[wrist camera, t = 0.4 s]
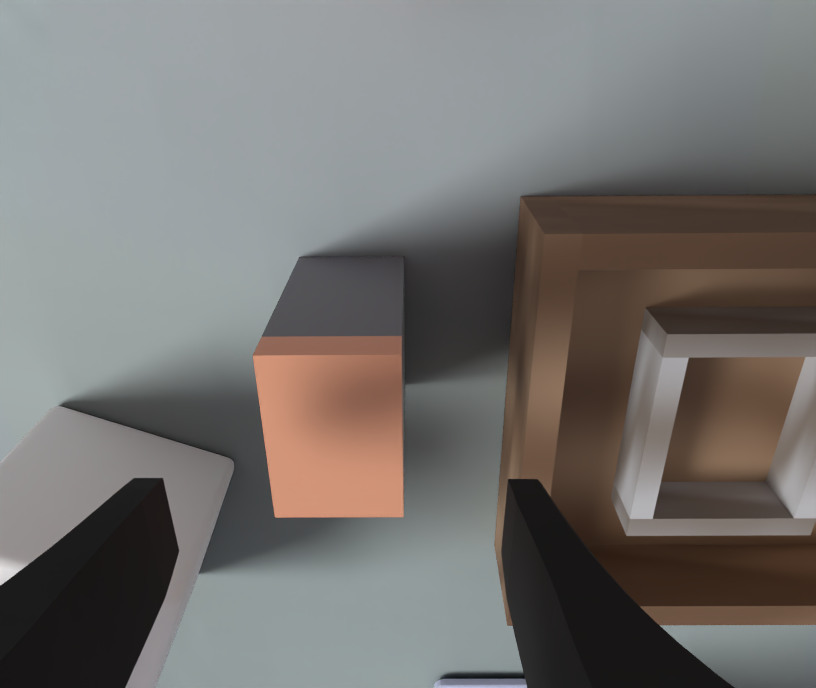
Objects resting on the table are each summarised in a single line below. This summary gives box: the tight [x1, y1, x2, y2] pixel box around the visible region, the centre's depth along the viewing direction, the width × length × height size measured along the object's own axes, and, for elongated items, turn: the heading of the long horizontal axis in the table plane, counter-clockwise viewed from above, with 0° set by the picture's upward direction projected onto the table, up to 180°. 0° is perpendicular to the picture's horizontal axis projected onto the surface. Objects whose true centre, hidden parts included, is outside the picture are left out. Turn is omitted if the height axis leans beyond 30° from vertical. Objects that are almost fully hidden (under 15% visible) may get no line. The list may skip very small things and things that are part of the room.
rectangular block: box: [253, 256, 405, 518], centre depth 19 cm, size 5×4×7 cm
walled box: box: [495, 194, 816, 626], centre depth 22 cm, size 15×15×4 cm
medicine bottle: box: [0, 406, 234, 688], centre depth 20 cm, size 7×7×12 cm
